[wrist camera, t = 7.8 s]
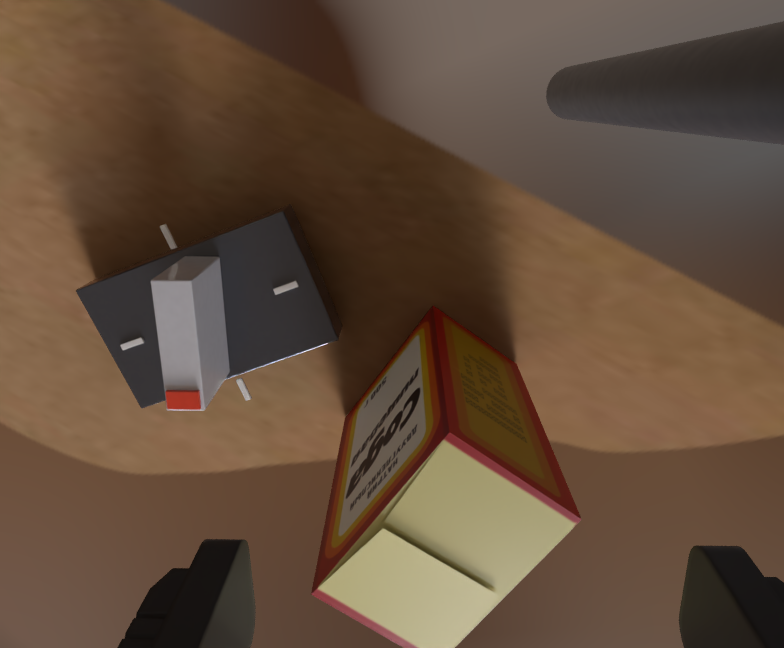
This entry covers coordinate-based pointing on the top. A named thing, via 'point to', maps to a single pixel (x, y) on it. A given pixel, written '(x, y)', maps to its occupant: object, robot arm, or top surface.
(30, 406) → the top surface
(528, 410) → the baking soda box
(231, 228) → the rotary selector switch
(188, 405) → the white rectangular block
